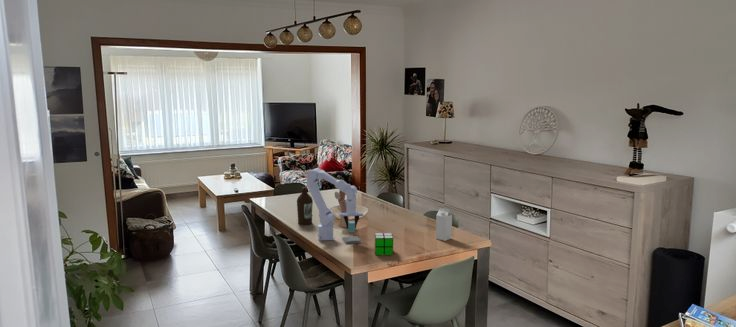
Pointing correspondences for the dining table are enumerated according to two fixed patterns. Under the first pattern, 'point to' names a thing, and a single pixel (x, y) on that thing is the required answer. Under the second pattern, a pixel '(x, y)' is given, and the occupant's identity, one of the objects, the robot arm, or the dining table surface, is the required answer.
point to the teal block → (351, 226)
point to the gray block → (351, 240)
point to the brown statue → (342, 207)
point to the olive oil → (304, 208)
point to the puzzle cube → (383, 244)
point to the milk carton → (443, 224)
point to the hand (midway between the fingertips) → (351, 228)
